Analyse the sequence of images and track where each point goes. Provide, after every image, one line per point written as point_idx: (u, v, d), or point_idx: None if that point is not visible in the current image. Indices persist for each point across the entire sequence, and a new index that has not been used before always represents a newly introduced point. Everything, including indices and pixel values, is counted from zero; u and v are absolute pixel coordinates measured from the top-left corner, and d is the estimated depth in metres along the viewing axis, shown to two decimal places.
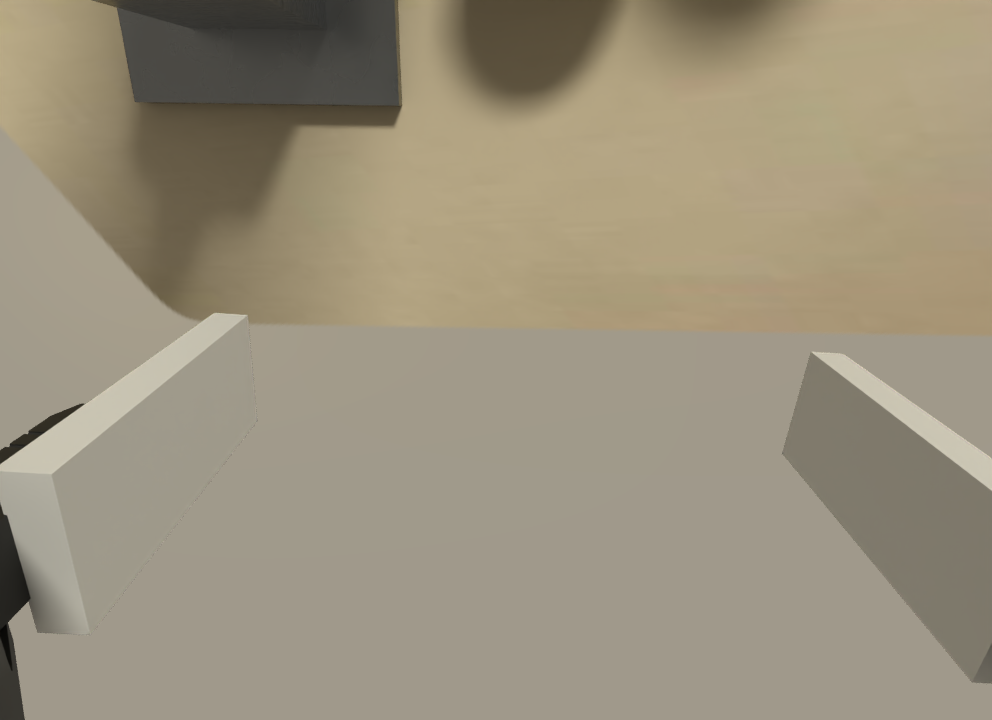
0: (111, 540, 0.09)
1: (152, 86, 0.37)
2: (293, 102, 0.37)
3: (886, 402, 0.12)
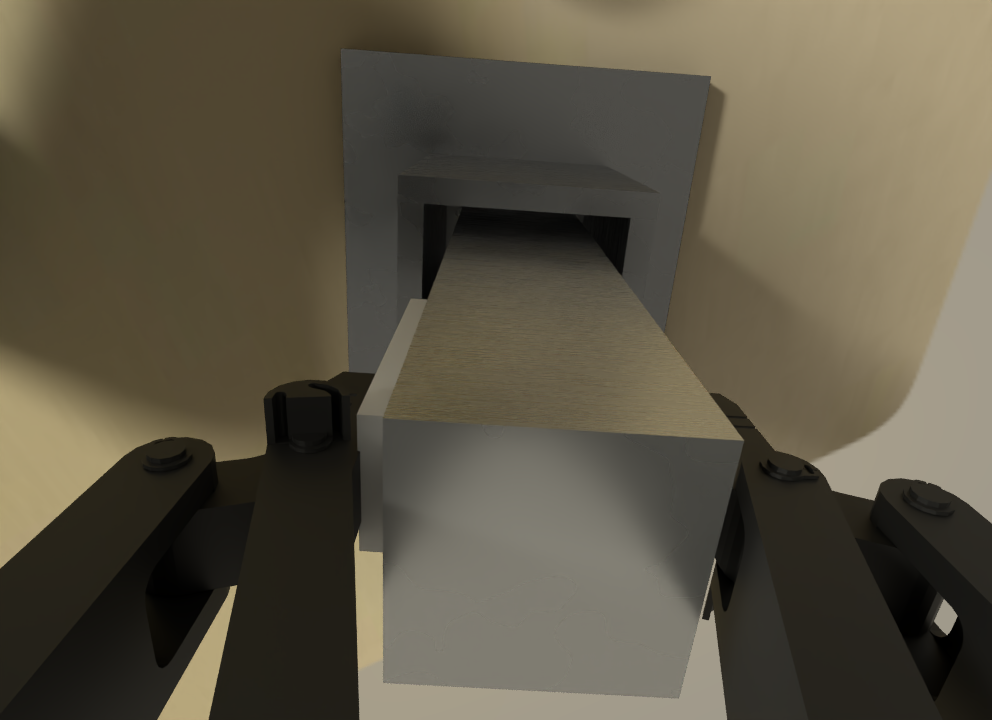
0: None
1: None
2: (681, 224, 0.29)
3: None
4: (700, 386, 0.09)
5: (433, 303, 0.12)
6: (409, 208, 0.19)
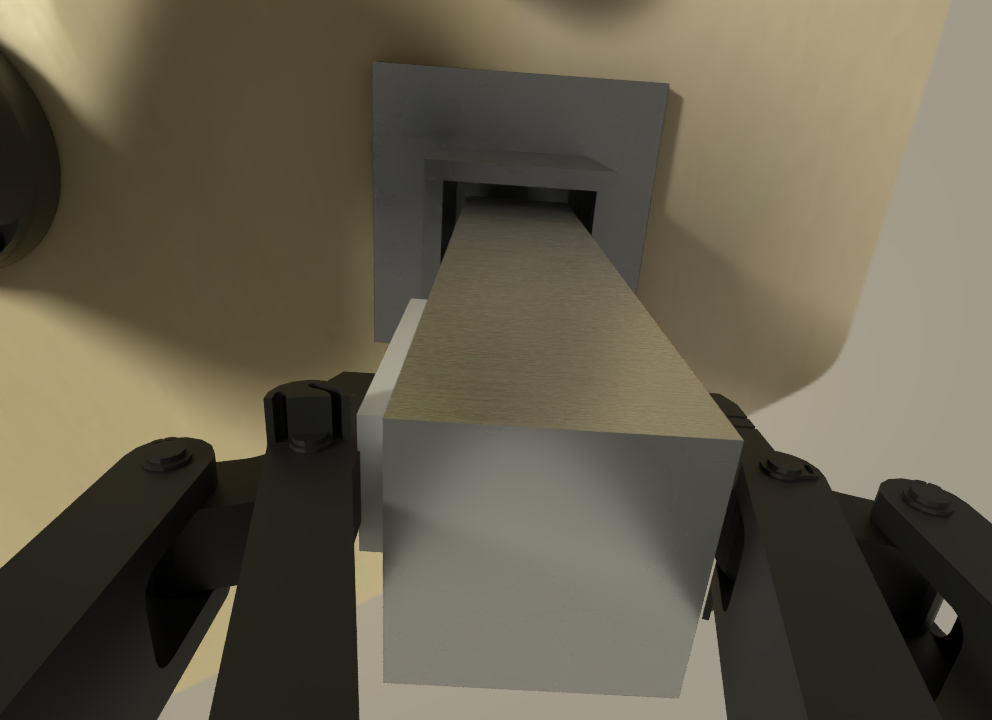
0: None
1: None
2: (648, 204, 0.35)
3: None
4: (700, 387, 0.09)
5: (433, 303, 0.12)
6: (432, 184, 0.25)
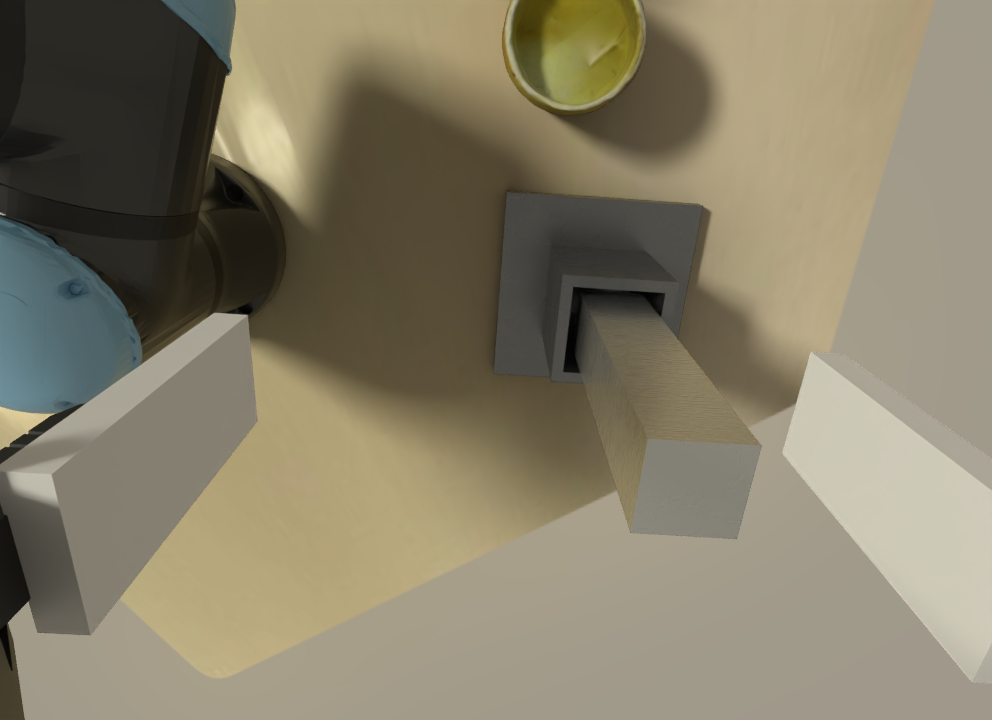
0: (111, 540, 0.09)
1: None
2: (687, 282, 0.52)
3: (886, 402, 0.12)
4: (744, 426, 0.26)
5: (627, 386, 0.29)
6: (566, 288, 0.42)
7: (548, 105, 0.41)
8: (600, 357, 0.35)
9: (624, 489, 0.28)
